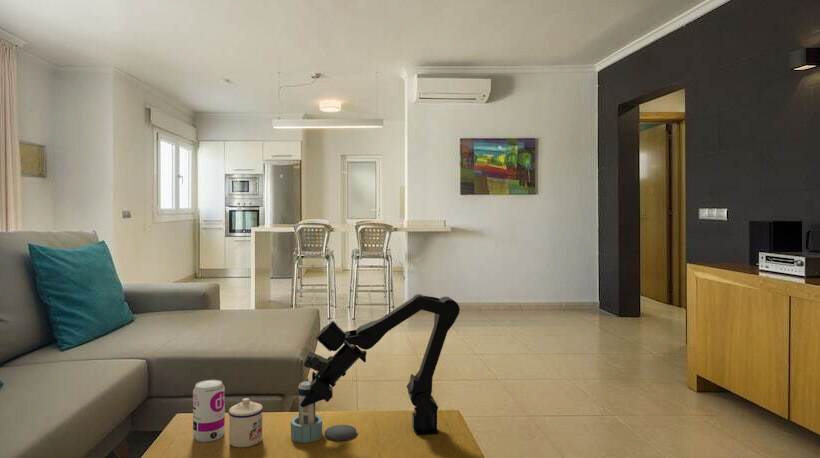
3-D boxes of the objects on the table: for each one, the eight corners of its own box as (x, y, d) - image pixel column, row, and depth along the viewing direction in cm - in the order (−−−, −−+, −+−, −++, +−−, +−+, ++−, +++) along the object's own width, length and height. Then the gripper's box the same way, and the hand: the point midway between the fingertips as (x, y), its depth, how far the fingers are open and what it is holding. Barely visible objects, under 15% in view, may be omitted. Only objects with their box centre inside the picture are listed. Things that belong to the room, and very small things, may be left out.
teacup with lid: (254, 449, 135) (254, 406, 135) (222, 447, 136) (222, 404, 136) (272, 430, 147) (272, 390, 147) (242, 428, 148) (242, 389, 148)
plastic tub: (322, 428, 148) (322, 413, 148) (322, 441, 140) (322, 425, 140) (292, 430, 147) (292, 415, 147) (290, 444, 138) (290, 427, 138)
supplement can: (231, 433, 145) (230, 381, 144) (208, 445, 137) (208, 390, 137) (209, 428, 148) (209, 377, 148) (186, 439, 141) (186, 386, 140)
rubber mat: (355, 426, 150) (355, 423, 150) (357, 439, 141) (357, 436, 141) (324, 428, 149) (324, 425, 149) (324, 442, 140) (324, 439, 140)
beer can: (319, 425, 144) (318, 383, 143) (305, 430, 140) (304, 387, 140) (309, 420, 147) (308, 379, 146) (295, 425, 143) (294, 383, 143)
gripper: (321, 335, 153) (284, 373, 151) (319, 351, 134) (276, 395, 133) (348, 360, 154) (311, 398, 153) (349, 379, 135) (307, 423, 134)
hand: (302, 402), depth 143 cm, fingers closed on beer can, 5 cm apart
